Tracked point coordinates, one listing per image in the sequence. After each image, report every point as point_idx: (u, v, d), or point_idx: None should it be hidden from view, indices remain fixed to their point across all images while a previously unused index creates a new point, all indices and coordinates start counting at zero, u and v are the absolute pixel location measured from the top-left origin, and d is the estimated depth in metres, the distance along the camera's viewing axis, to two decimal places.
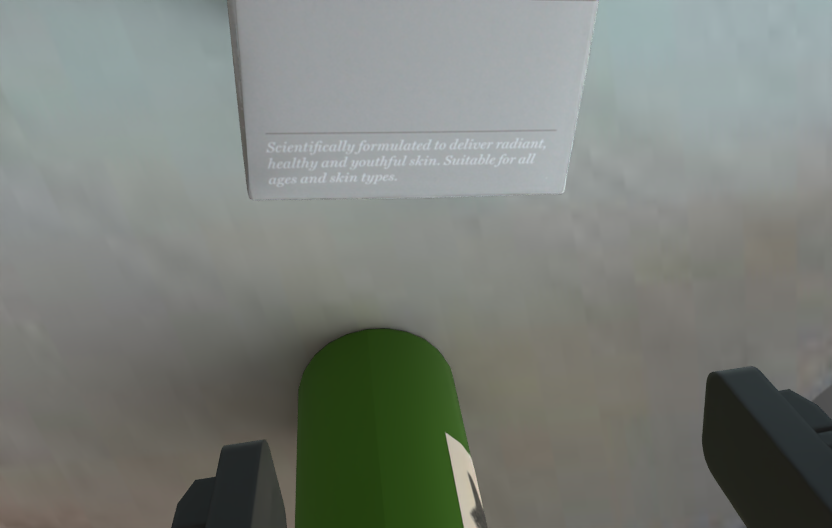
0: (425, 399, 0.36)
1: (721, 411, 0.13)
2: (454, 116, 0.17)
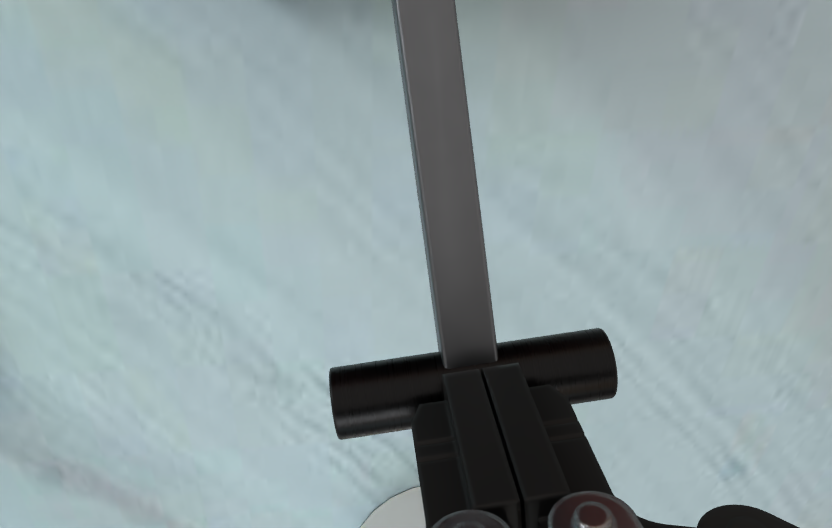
0: None
1: None
2: None
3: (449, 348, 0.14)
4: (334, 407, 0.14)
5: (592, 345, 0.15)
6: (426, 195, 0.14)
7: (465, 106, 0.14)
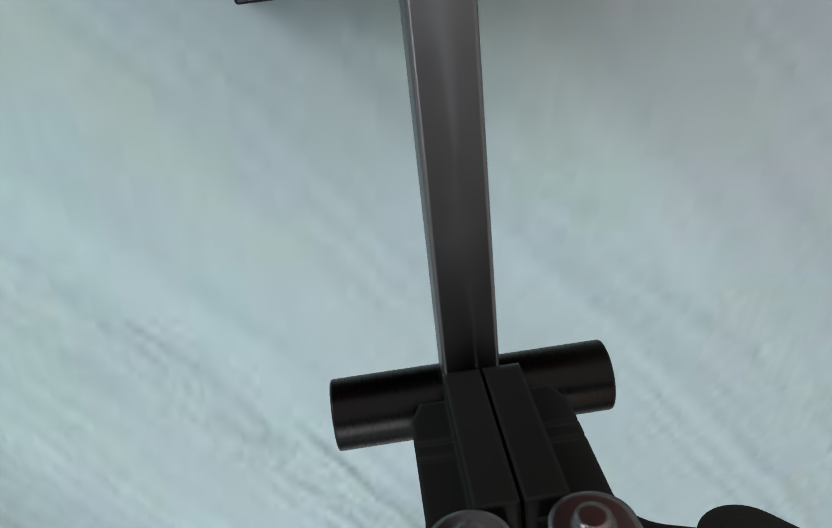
0: None
1: None
2: None
3: None
4: (337, 432, 0.14)
5: (594, 369, 0.15)
6: (435, 241, 0.13)
7: (483, 148, 0.12)
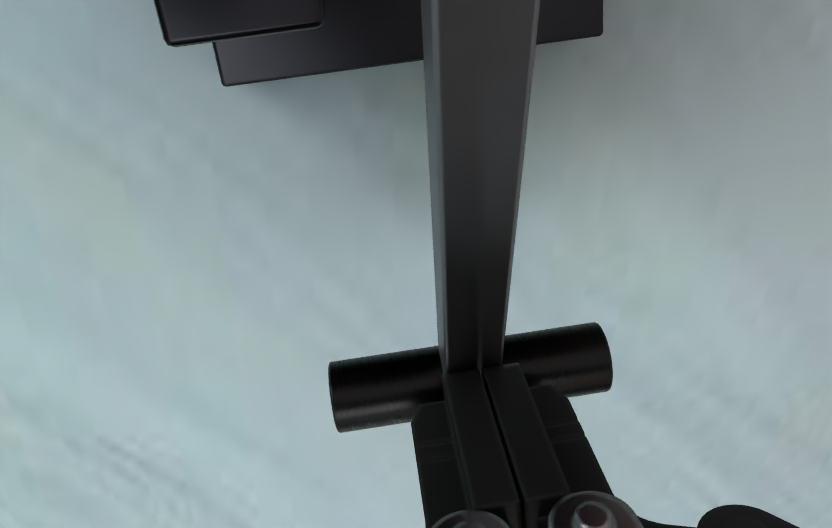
0: None
1: None
2: None
3: None
4: (338, 426, 0.14)
5: (594, 366, 0.15)
6: (449, 303, 0.12)
7: (513, 231, 0.10)
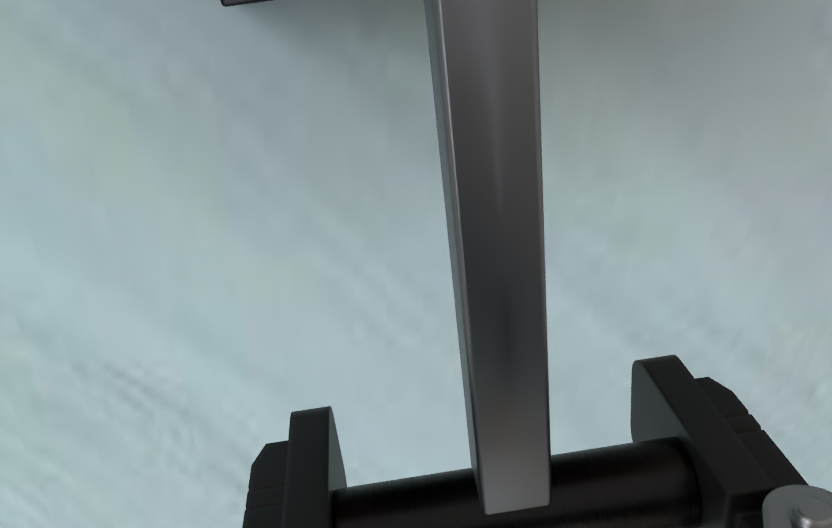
0: None
1: (643, 398, 0.13)
2: None
3: (490, 494, 0.11)
4: None
5: (673, 481, 0.11)
6: (472, 330, 0.09)
7: (540, 208, 0.09)
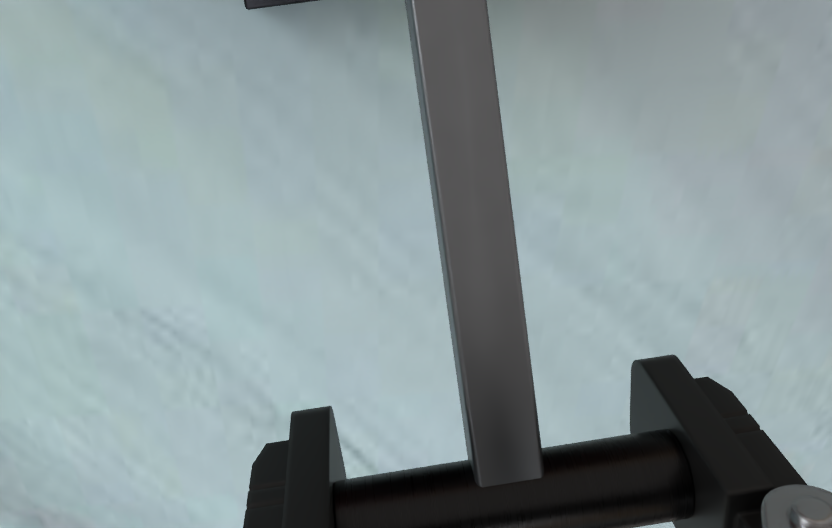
0: None
1: (642, 397, 0.13)
2: None
3: (483, 462, 0.11)
4: None
5: (662, 455, 0.12)
6: (454, 272, 0.11)
7: (503, 160, 0.11)
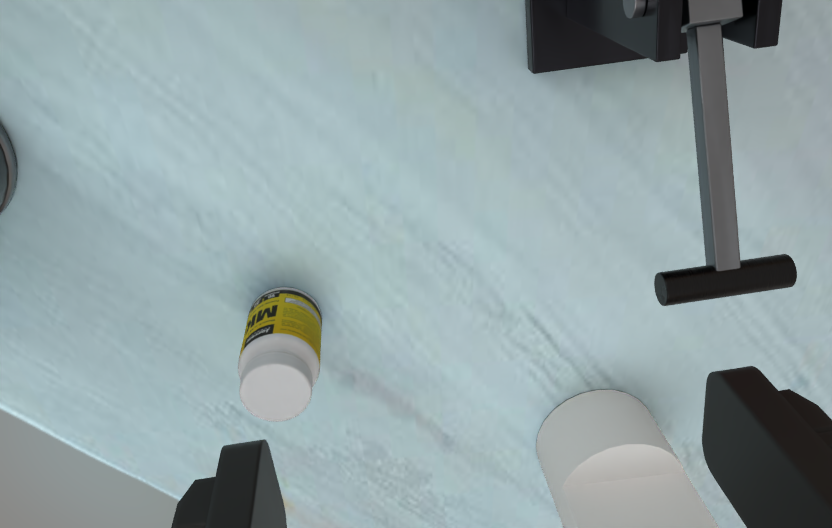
0: None
1: (721, 411, 0.13)
2: None
3: (719, 261, 0.31)
4: (668, 288, 0.31)
5: (784, 260, 0.31)
6: (712, 190, 0.30)
7: (730, 150, 0.30)
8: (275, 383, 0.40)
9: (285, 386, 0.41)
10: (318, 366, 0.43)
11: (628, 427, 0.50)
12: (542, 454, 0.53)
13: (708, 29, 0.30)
